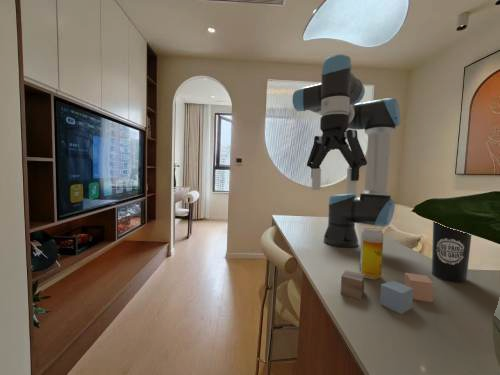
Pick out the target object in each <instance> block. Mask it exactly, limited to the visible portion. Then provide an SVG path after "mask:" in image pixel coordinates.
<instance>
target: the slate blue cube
mask: <svg viewBox="0 0 500 375" xmlns="http://www.w3.org/2000/svg"><path fill="white" fill-rule="evenodd" d="M379 296H380V298H379V305H381V306H384V307H385V308H388V309H390V310H392V311H394V312H396V313H398V314H400V315H402V314H404V313H406V312H408V311H410V310H412V309H413V300H414V299H413V288H411V287H408V286H406V285H404V284H402V283H400V282H397V281H395V280H392V279H391V280H389V281H386V282H384V283H381V284H380V295H379Z"/></svg>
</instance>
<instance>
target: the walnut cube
mask: <svg viewBox="0 0 500 375" xmlns="http://www.w3.org/2000/svg"><path fill="white" fill-rule="evenodd" d="M340 279H341V280H340V281H341V283H340V294H341V295H344V296H347V297H350V298H354V299H358V300H362V298H363V295H364V293H365V281H366V280H365V279H366V278H365V274H362V273H360V272H356V271H352V270H348V269H345V270H344V272H343V273H342V274H341V278H340Z"/></svg>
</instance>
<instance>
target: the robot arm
mask: <svg viewBox="0 0 500 375" xmlns="http://www.w3.org/2000/svg"><path fill="white" fill-rule="evenodd" d="M321 66H322V67H321V73H320V75H321V83H318V84H314V85H310V86H309V85H308V86H306V87H305V86H303V87H302V88H299V89H296V90H295V91H293V94H292V99H291V100H292V102H291V103H292V106H293V108H294V110H296V111H297V112H305V111H310V112H312V113H315V114H318V115H320V116H321V117H320V121H319V122H320V123H319V125H320V126H319V129H320V131H321V132H322V134H321V136H320V135H315V136H314V138H313V145H312V148H311V151H310V153H309V155H308V156H309V157H308V159H307V163H306V167H309V168H310V169H311V171H310V172H311V173H310V174H311V176H310V177H311V190H312V191H313V190H314V191H316V190H317V191H318V190H319V191H321V179H322V178H321V177H322V175H321V174H322V173H321V172H322V169H321V165H322V163H323V161H324V160H325V158H326V157H327V155H328V153H329V152H331V151H335V150H338V151H340V153H341V155H342V156H343V158H344V159H345V161H346V163H347V164H348V167H347V170H346V193H343V194H341V193H340V194H333V195H330V196H329V199H328V200H329V201H328V218H327V219H328V221H327V226H326V227H327V228H326V230H325V232H324V235H323V242H324V243H325V242H326V243H325V244H327V243H328V245H330V246H332V247H333V246H334V247H340V248H355V247H357V246H358V245H359V238H358V234H357V231H356V226H355V225H356V224H360V225H361V224H363V225H367V226H374V227H384V228H385V227H387V226H389V225H390V224H391V222H392V219H393V216H394V214H395V213H394V212H395V209H396V208H395V207H396V205H395V204H396V200H394V199H391V198H392V196H391V195H392V194H390V192H389V191H388V181H389V167H390V166H389V165H390V149H391V138H392V136H391V135H392V134H394V132H395V131H396V127H398V126H400V125H401V122H402V121H401V120H402V118H401V110H400V105H399V102H398V100H397V99H396V98H394V97H388V98H382V99H377V100H372V101H371V100H370V101H366V102H361V101H362V100H363V98H364V96H365V92H366V91H365V89H366V88H365V86H364V84H363V83H362V81H361V80H360V79H359V78H357V77H356V76H355V75H354V73H353V72H352V71H351V70H352V59H351V57H350V56H349V55H346V54H341V53H340V54H334V55H331V56H328V57H327V58H326V59H324V60H323V62H322V65H321ZM357 130H358V131H359V130H364V133H365V134H366V135H367V147H366V148H367V149H366V156H365V154H364V151H363V148H362V146H361V144H360V141H359V139H358V131H357ZM346 140H347V141H346ZM363 166H365V176H364V177H365V178H364V189H363V191H360V195H359V196H357V185H358V184H357V183H358V181H359V179H360V169H361V167H363Z"/></svg>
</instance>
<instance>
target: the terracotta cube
mask: <svg viewBox="0 0 500 375" xmlns="http://www.w3.org/2000/svg"><path fill="white" fill-rule="evenodd" d="M434 284H435V283H434V282H433V281H432V280H431V279H430V277H428V276H427V275H426V274H425V275H424V274H416V273H409V272H404V284H403V285H406V286H408V287H411V288H413V300H415V301H416V300H417V301H423V302H428V303H429V302H430V303H433V302H434V286H435V285H434Z"/></svg>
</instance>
